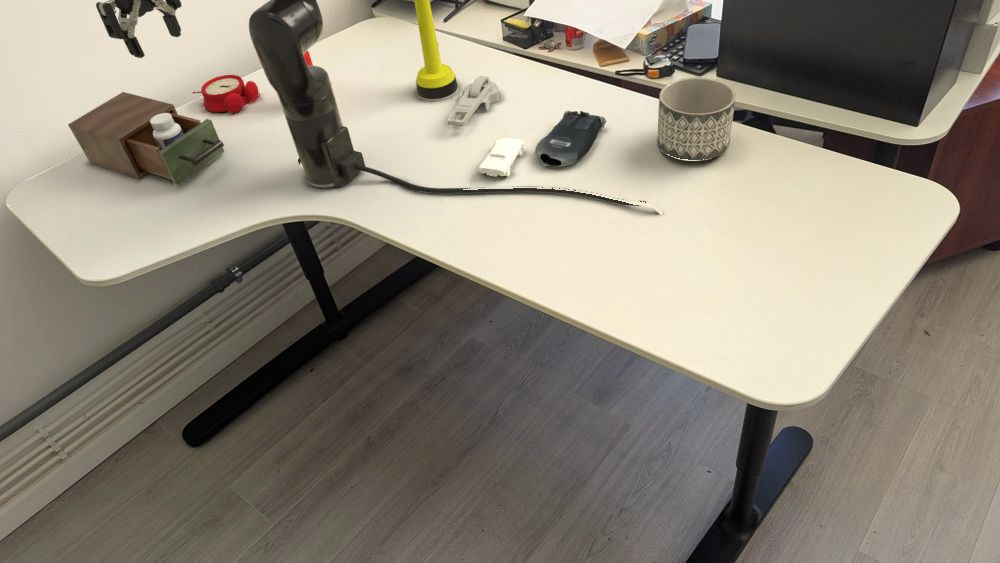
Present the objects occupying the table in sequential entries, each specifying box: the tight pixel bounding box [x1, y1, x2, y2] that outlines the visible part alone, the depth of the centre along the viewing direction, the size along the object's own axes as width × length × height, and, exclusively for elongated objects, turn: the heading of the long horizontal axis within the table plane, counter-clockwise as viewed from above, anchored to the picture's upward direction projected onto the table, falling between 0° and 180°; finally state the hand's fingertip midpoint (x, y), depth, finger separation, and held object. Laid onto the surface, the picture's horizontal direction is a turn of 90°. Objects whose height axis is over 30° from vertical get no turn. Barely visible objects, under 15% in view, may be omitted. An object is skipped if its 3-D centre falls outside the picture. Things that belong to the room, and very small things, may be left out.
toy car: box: [477, 137, 525, 178], centre depth 133 cm, size 6×12×3 cm, turn 159°
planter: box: [656, 76, 737, 160], centre depth 128 cm, size 13×13×10 cm
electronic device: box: [535, 110, 607, 168], centre depth 134 cm, size 9×6×15 cm
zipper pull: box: [447, 76, 500, 127], centre depth 147 cm, size 8×18×4 cm, turn 161°
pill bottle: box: [150, 113, 184, 150], centre depth 140 cm, size 5×5×9 cm
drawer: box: [124, 112, 225, 186], centre depth 141 cm, size 19×12×7 cm, turn 60°
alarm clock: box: [192, 74, 261, 114], centre depth 161 cm, size 10×6×15 cm
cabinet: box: [67, 91, 179, 180], centre depth 147 cm, size 16×14×9 cm
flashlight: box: [413, 0, 459, 102], centre depth 148 cm, size 25×9×9 cm
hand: (158, 46), depth 130 cm, fingers open, 8 cm apart
